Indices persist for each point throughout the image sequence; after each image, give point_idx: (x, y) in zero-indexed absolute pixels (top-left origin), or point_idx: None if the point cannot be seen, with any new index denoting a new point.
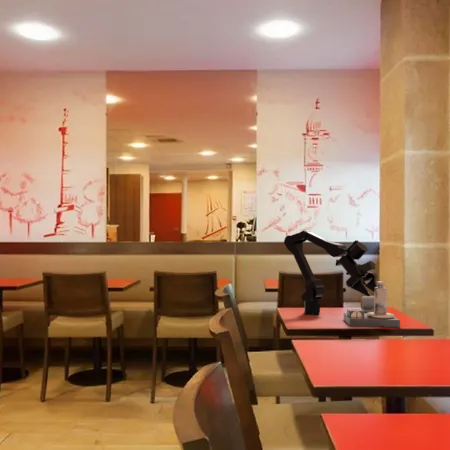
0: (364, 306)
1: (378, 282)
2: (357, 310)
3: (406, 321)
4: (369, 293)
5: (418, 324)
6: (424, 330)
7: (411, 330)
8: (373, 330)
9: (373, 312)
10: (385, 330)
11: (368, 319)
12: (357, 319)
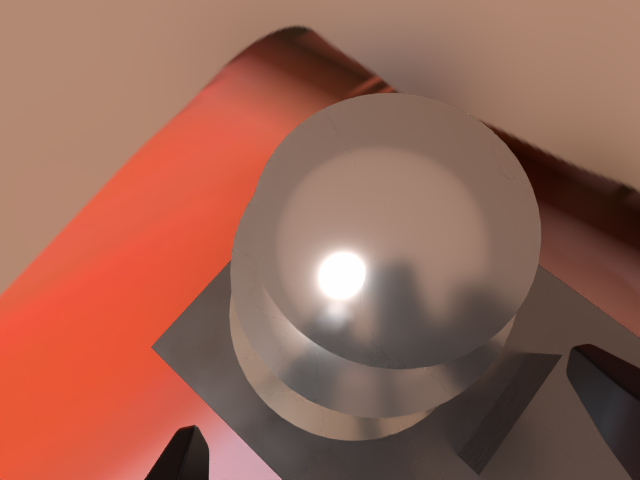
0: None
1: (530, 211)
2: (595, 434)
3: (92, 271)
4: (601, 360)
5: (139, 161)
6: (297, 38)
7: (365, 71)
8: (593, 182)
9: (325, 412)
10: (516, 145)
11: (554, 277)
12: (636, 339)
